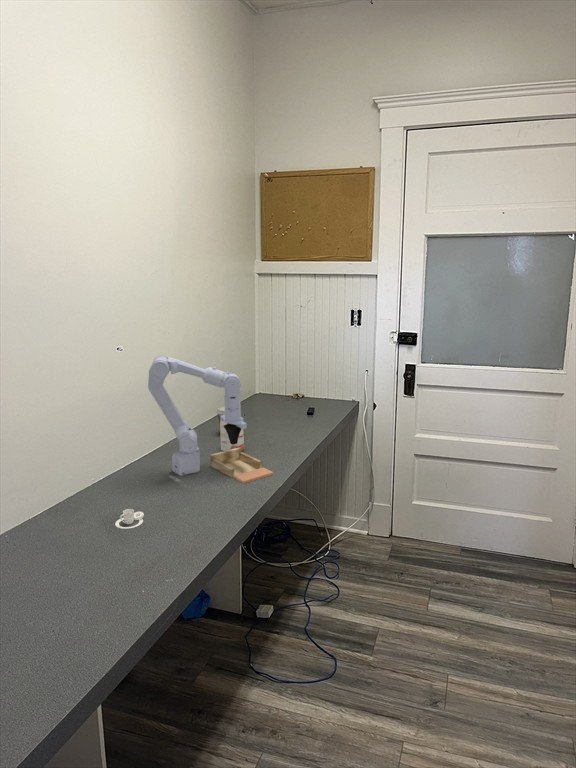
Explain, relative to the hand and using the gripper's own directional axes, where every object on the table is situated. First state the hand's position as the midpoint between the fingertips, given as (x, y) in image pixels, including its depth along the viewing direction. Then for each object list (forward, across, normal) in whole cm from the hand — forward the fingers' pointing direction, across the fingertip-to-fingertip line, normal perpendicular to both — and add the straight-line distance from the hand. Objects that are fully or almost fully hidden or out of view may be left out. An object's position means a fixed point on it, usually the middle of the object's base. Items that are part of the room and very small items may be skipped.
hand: (233, 443), depth 204 cm
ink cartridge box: (+11, +20, -12) cm, 26 cm away
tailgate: (+9, -9, 0) cm, 13 cm away
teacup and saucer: (+11, -17, +45) cm, 49 cm away
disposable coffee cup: (+11, +39, -22) cm, 46 cm away
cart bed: (+10, -1, 0) cm, 10 cm away
